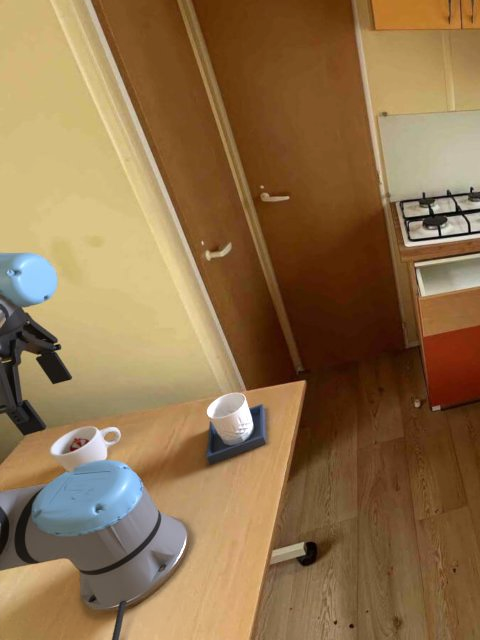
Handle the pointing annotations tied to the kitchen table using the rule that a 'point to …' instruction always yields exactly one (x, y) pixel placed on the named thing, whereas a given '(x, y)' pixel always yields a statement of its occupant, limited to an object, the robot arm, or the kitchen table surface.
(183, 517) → the kitchen table surface
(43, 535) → the robot arm
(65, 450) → the cup
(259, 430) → the tray
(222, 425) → the white cup
